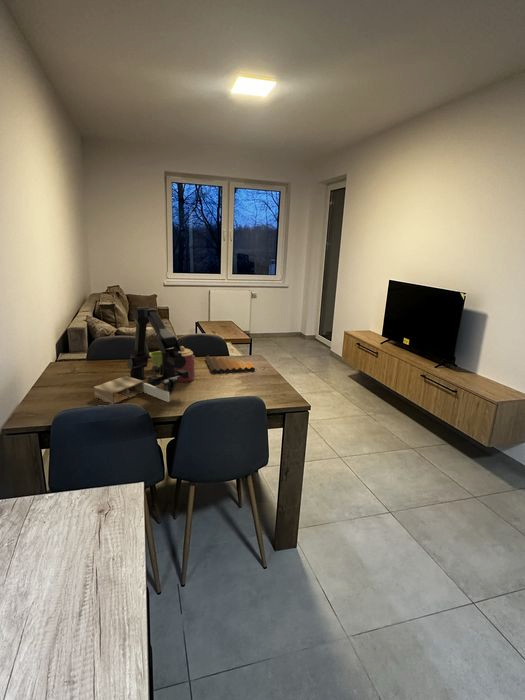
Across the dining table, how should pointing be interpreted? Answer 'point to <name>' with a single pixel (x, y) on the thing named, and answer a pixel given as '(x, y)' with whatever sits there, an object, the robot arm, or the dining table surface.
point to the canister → (187, 365)
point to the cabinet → (118, 388)
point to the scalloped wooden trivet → (227, 365)
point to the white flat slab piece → (156, 392)
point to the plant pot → (156, 358)
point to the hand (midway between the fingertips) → (169, 394)
